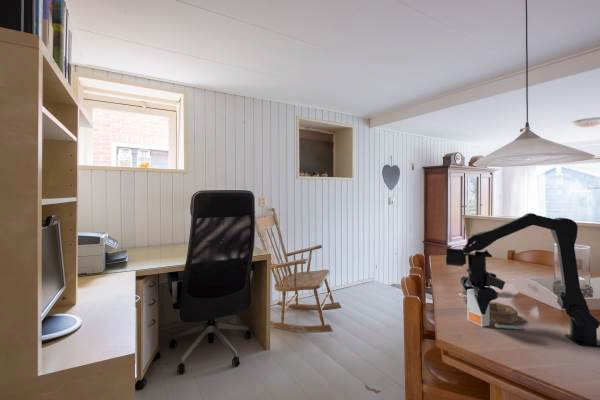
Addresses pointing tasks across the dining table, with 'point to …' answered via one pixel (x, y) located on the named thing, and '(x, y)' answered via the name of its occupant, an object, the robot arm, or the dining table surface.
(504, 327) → the teal thin rod
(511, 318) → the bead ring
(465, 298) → the architectural model
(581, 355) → the dining table surface
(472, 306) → the skincare box
